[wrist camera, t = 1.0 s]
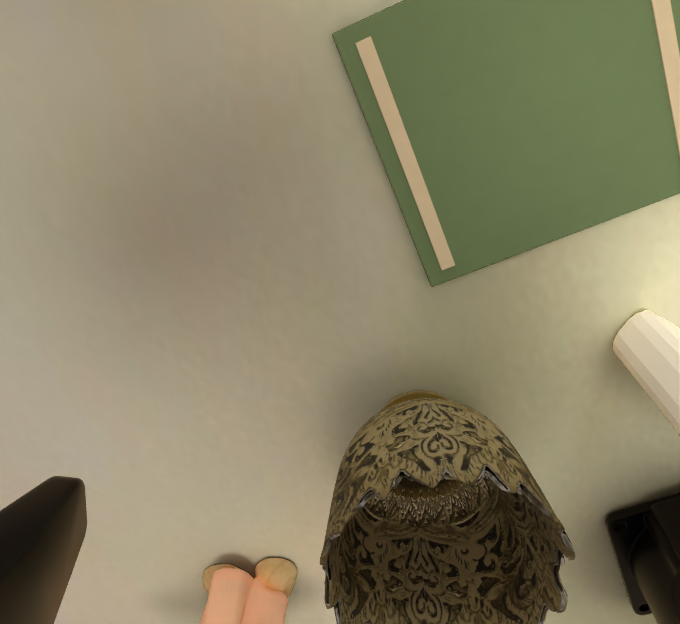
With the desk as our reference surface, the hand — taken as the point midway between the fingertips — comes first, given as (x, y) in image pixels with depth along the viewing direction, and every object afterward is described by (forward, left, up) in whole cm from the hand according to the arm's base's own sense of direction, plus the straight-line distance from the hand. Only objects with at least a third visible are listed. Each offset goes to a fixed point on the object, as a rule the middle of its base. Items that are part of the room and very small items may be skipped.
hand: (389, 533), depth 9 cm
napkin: (+2, -6, -14) cm, 15 cm away
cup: (-8, +1, -14) cm, 16 cm away
